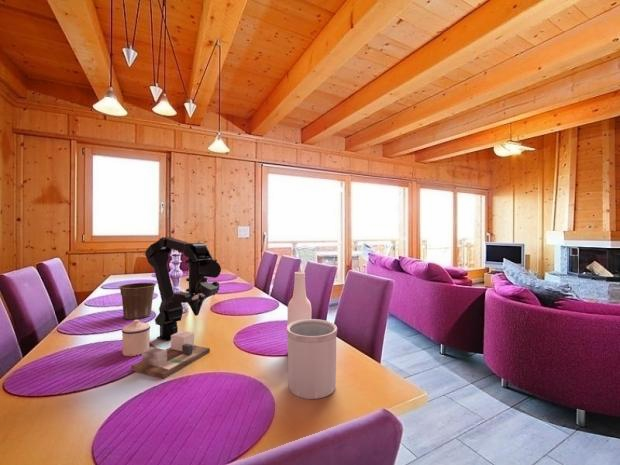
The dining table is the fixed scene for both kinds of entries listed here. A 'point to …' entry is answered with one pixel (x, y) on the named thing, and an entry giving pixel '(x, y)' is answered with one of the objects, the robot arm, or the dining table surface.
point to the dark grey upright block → (187, 349)
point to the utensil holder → (312, 358)
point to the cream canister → (135, 338)
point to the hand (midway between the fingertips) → (196, 315)
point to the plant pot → (137, 299)
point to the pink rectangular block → (182, 340)
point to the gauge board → (169, 357)
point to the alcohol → (299, 301)
